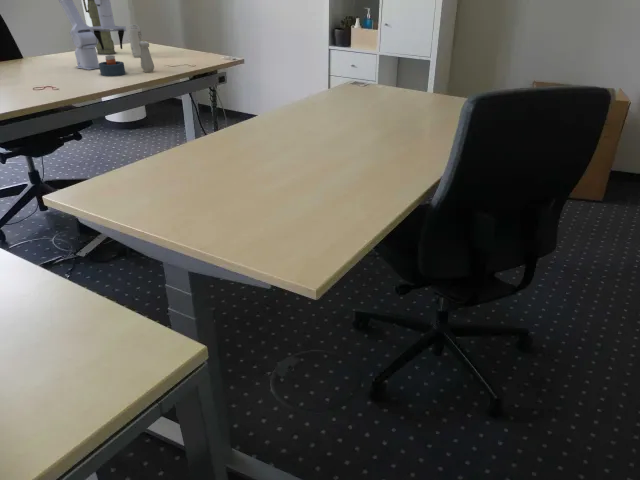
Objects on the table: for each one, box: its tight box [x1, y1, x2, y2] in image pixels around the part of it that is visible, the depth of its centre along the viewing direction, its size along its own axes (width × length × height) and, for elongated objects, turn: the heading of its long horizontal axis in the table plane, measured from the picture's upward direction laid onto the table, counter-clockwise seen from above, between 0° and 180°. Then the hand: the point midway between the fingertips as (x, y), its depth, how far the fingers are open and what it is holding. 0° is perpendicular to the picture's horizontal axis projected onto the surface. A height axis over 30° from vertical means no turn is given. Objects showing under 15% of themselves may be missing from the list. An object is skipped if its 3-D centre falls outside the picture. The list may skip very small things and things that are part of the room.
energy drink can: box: [127, 24, 143, 58], centre depth 277 cm, size 6×6×15 cm
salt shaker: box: [139, 40, 155, 73], centre depth 246 cm, size 6×6×13 cm
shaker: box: [104, 54, 117, 65], centre depth 240 cm, size 4×4×7 cm
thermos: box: [82, 0, 116, 56], centre depth 277 cm, size 9×12×35 cm
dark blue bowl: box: [99, 60, 126, 77], centre depth 241 cm, size 10×10×5 cm
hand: (112, 48), depth 241 cm, fingers open, 7 cm apart
